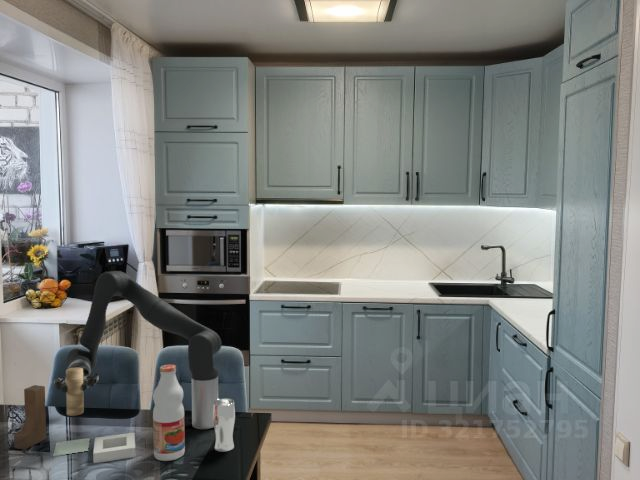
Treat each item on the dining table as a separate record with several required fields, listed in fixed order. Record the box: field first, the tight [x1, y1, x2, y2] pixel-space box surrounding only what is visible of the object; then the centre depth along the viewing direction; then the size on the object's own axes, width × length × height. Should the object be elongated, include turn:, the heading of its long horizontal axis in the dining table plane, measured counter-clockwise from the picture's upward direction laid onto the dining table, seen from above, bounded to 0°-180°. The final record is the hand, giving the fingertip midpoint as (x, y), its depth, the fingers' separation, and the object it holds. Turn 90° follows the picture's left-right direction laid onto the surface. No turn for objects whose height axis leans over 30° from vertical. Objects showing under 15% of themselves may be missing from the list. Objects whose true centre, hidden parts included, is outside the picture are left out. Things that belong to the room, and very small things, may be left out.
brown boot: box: [13, 384, 47, 451], centre depth 176 cm, size 9×4×18 cm, turn 163°
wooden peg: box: [65, 367, 85, 417], centre depth 172 cm, size 5×5×14 cm
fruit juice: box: [152, 364, 186, 462], centre depth 167 cm, size 9×9×28 cm
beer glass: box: [213, 397, 236, 453], centre depth 173 cm, size 7×7×15 cm
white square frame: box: [92, 432, 136, 464], centre depth 170 cm, size 12×12×3 cm
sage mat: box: [52, 437, 91, 458], centre depth 173 cm, size 10×10×1 cm
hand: (74, 388), depth 170 cm, fingers closed on wooden peg, 5 cm apart
